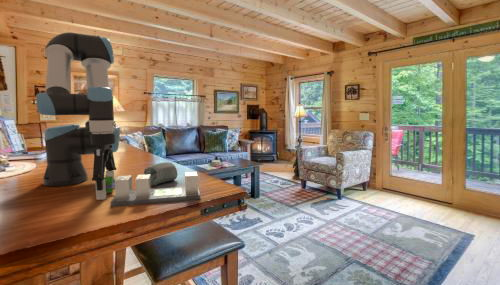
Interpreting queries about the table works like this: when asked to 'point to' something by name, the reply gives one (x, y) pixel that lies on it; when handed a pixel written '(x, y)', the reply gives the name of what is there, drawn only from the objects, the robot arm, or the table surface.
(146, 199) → the finger rail
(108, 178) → the geometric puzzle
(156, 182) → the grey rounded lump
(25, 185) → the table surface
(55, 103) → the robot arm
